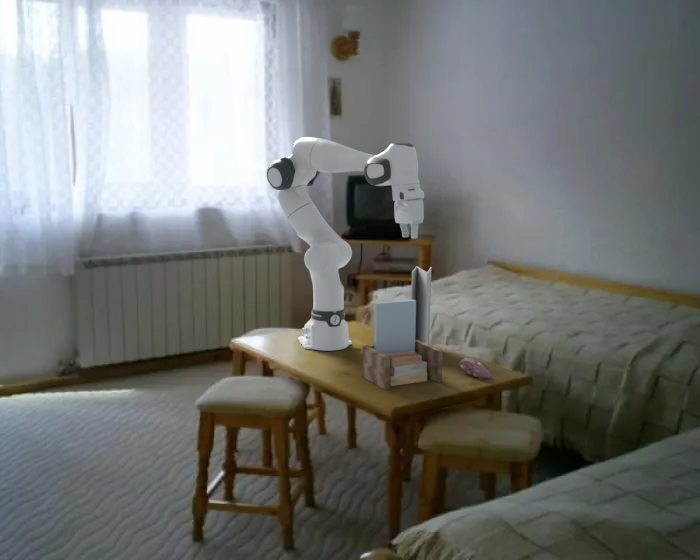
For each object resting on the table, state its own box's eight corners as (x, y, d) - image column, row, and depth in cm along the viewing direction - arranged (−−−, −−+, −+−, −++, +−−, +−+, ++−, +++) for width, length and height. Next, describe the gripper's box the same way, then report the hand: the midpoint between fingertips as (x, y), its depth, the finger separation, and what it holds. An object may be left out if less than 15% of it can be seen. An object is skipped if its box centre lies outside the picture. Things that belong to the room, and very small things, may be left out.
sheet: (373, 377, 232) (374, 302, 228) (411, 371, 238) (413, 299, 234) (375, 378, 230) (377, 303, 226) (414, 373, 236) (416, 300, 232)
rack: (362, 376, 232) (362, 345, 231) (416, 369, 241) (417, 339, 239) (384, 390, 219) (385, 357, 217) (441, 382, 227) (442, 350, 226)
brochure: (425, 357, 255) (427, 272, 250) (409, 356, 256) (411, 272, 251) (429, 347, 268) (431, 266, 263) (414, 346, 269) (416, 266, 264)
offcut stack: (380, 380, 229) (380, 354, 227) (416, 375, 234) (417, 349, 233) (390, 386, 223) (391, 359, 221) (427, 381, 228) (428, 355, 227)
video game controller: (461, 377, 238) (455, 360, 235) (470, 369, 240) (464, 352, 237) (483, 384, 230) (477, 367, 227) (492, 376, 232) (486, 359, 229)
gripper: (388, 195, 239) (391, 237, 241) (405, 194, 219) (409, 240, 221) (406, 193, 240) (410, 235, 242) (425, 192, 221) (429, 237, 222)
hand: (410, 237), depth 231 cm, fingers open, 8 cm apart
